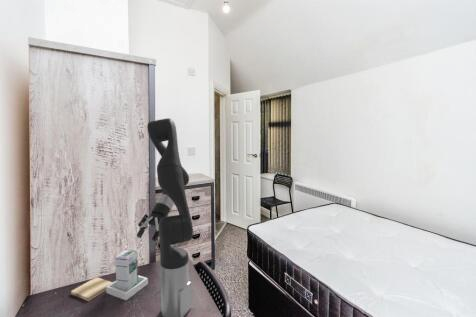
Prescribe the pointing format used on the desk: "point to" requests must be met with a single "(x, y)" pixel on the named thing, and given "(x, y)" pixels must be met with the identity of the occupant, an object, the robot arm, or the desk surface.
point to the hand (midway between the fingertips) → (145, 238)
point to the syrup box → (126, 270)
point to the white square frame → (126, 295)
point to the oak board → (91, 289)
